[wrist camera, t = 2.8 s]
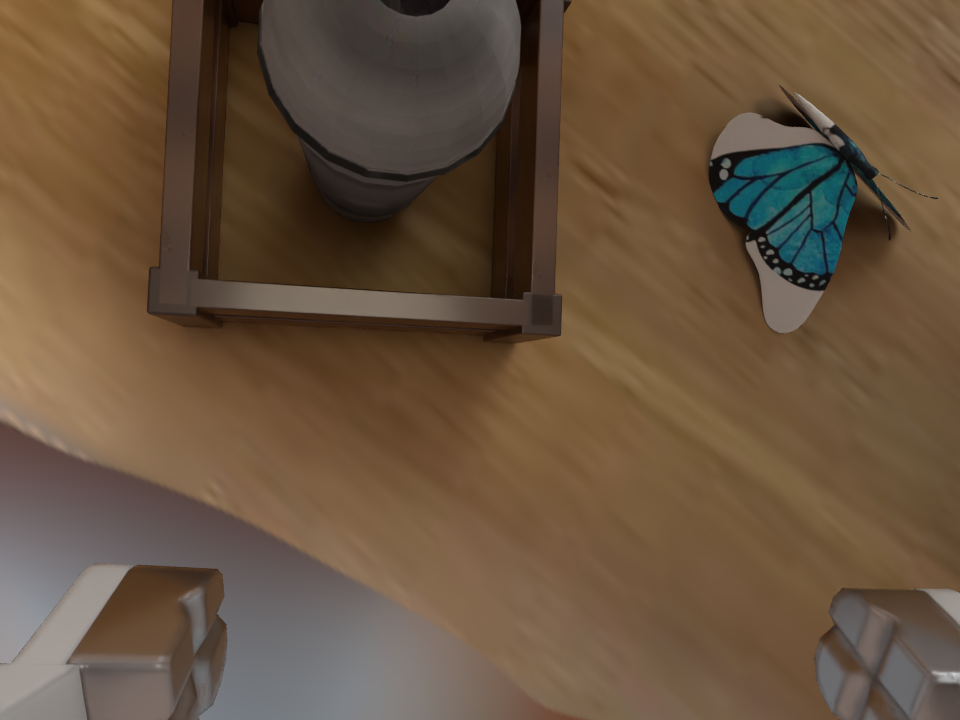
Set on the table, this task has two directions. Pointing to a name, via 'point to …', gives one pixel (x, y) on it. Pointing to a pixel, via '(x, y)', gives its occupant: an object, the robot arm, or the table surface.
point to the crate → (209, 302)
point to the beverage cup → (388, 90)
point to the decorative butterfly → (791, 203)
